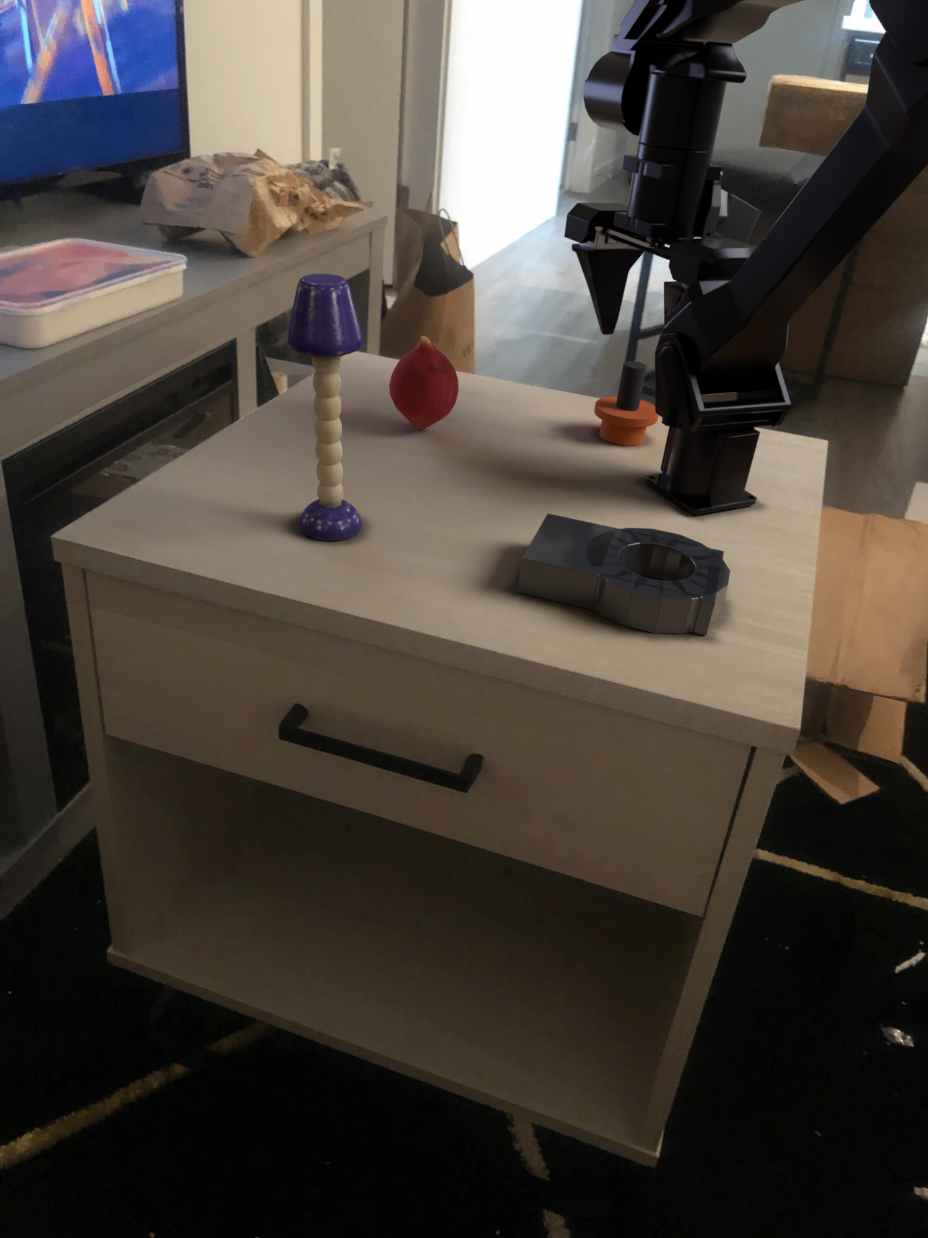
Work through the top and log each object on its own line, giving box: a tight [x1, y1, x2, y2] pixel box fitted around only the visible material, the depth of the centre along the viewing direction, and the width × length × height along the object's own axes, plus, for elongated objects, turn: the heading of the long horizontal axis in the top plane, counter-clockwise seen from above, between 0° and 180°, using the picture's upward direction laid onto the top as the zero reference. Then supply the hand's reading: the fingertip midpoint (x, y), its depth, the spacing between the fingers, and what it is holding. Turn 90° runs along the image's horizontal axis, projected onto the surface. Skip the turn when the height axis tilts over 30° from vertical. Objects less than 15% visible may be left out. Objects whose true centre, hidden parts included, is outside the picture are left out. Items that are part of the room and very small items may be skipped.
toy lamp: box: [286, 273, 364, 542], centre depth 61 cm, size 5×5×17 cm
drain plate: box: [517, 513, 731, 636], centre depth 61 cm, size 13×9×2 cm
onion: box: [388, 335, 460, 431], centre depth 80 cm, size 6×6×8 cm
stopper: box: [593, 360, 659, 447], centre depth 83 cm, size 6×6×7 cm
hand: (638, 349), depth 80 cm, fingers open, 9 cm apart
